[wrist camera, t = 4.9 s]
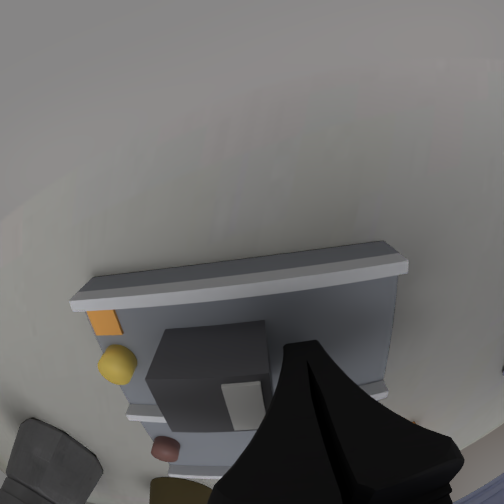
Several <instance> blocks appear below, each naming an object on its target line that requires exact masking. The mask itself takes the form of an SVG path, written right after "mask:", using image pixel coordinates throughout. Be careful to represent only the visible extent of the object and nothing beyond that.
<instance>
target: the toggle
mask: <svg viewBox="0 0 504 504" xmlns="http://www.w3.org/2000/svg"><path fill="white" fill-rule="evenodd" d="M145 381H146V383H147V385H148V387H149V389H150V391H151V393H152V395H153V397H154V399H155V401H156V403H157V405H158V407H159V409H160V411H161V413H162V415H163V416H164V418H165V420H166V422H167V424H168V426H169V427H170V429H171V431H172V432H186V433H212V432H239V431H254V430H257V429H258V428H259V426H260V424H261V422H262V420H263V418H264V416H265V414H266V412H267V410H268V408H269V405H270V403H271V400H272V398H273V395H274V390H273V379H272V370H271V363H270V355H269V348H268V340H267V333H266V325H265V320H259V321H250V322H241V323H232V324H222V325H211V326H199V327H187V328H172V329H165V331H164V333H163V336H162V338H161V340H160V343H159V345H158V348H157V350H156V353H155V355H154V358H153V360H152V362H151V365H150V367H149V370H148V373H147V375H146V378H145Z"/></svg>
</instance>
